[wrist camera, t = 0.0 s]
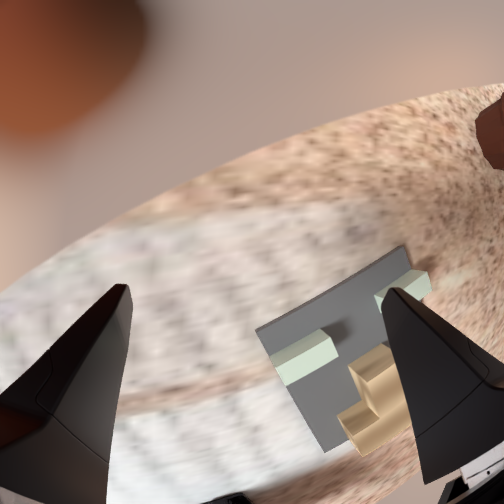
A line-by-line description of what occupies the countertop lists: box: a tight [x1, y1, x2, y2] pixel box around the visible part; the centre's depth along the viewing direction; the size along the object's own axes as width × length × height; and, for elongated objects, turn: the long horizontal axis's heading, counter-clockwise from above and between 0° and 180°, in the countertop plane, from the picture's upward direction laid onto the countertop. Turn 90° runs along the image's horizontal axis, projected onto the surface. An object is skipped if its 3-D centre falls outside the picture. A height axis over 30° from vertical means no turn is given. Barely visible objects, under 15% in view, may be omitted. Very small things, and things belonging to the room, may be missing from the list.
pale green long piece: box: [269, 269, 432, 386], centre depth 24 cm, size 2×16×2 cm, turn 117°
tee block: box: [337, 343, 412, 457], centre depth 24 cm, size 9×10×4 cm
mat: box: [255, 246, 421, 453], centre depth 26 cm, size 17×16×1 cm
